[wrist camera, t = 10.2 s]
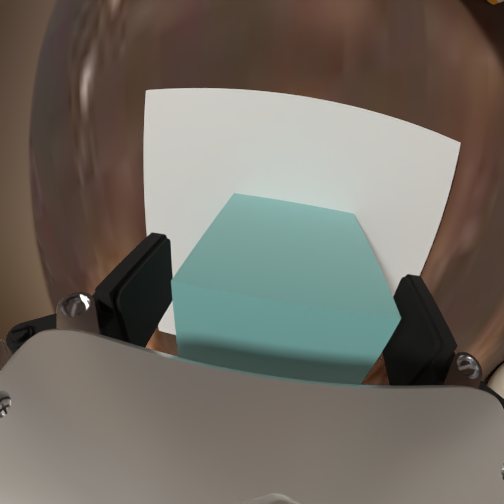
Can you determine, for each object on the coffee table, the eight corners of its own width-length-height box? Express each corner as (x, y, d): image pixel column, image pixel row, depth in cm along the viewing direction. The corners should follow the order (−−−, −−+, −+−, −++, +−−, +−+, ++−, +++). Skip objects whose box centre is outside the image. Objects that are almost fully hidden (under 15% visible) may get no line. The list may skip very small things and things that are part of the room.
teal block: (234, 193, 11) (171, 280, 6) (353, 213, 11) (401, 318, 5) (226, 290, 14) (185, 399, 8) (325, 307, 14) (331, 422, 8)
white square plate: (154, 91, 10) (49, 91, 5) (452, 140, 9) (548, 177, 4) (163, 322, 17) (121, 399, 12) (370, 356, 16) (382, 441, 10)
